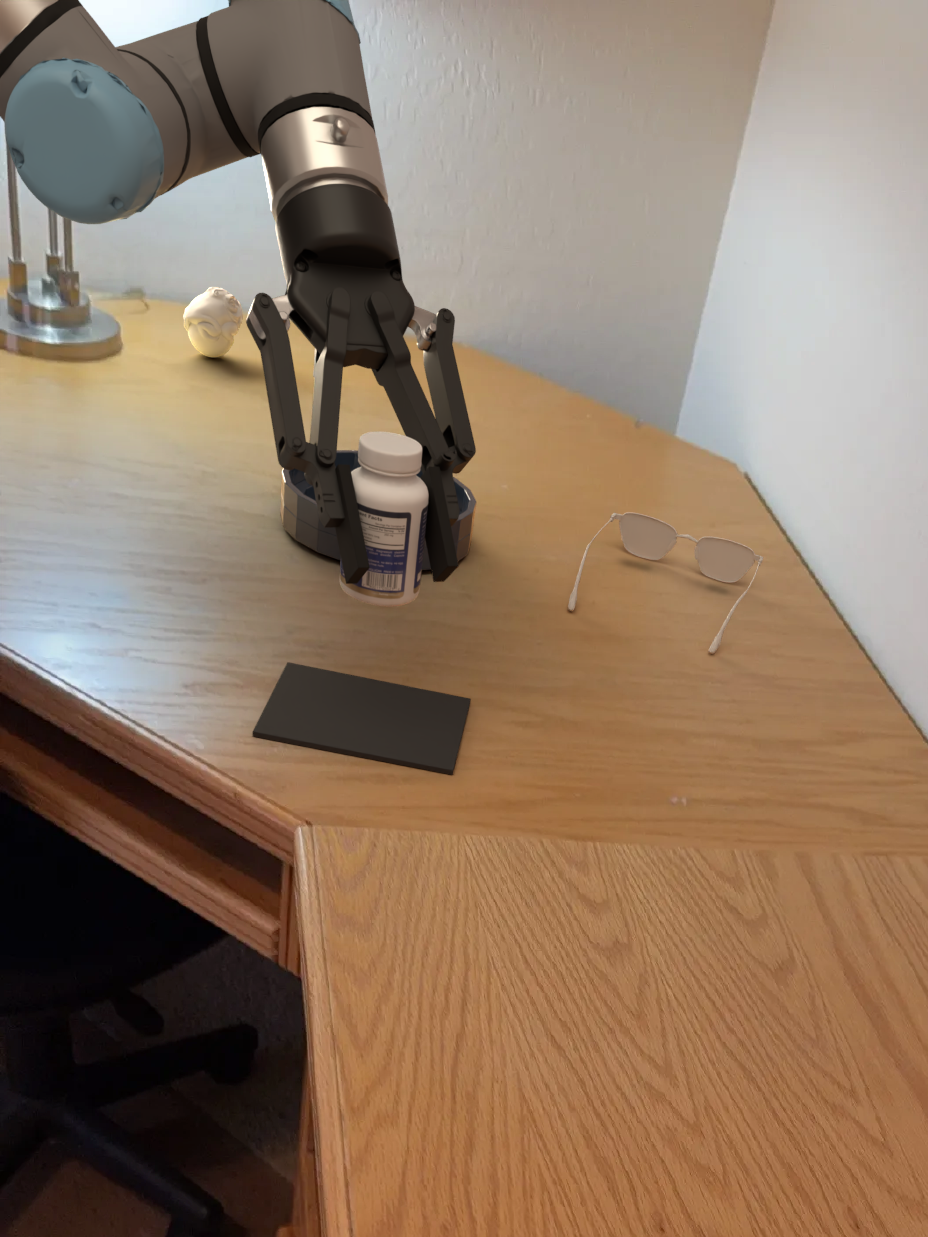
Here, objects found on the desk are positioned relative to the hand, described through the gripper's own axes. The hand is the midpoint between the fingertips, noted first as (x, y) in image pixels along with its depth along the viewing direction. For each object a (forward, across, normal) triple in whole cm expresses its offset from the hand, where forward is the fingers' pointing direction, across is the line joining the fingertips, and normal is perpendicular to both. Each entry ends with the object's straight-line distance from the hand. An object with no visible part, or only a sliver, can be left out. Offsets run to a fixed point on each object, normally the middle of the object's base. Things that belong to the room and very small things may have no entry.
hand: (402, 574), depth 83 cm
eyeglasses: (-6, +36, +24) cm, 43 cm away
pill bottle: (0, 0, +5) cm, 5 cm away
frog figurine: (-51, +11, +69) cm, 86 cm away
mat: (+6, 0, +11) cm, 13 cm away
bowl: (-16, +13, +34) cm, 40 cm away
